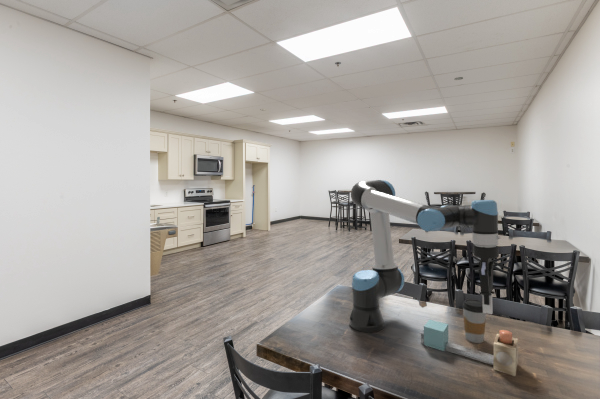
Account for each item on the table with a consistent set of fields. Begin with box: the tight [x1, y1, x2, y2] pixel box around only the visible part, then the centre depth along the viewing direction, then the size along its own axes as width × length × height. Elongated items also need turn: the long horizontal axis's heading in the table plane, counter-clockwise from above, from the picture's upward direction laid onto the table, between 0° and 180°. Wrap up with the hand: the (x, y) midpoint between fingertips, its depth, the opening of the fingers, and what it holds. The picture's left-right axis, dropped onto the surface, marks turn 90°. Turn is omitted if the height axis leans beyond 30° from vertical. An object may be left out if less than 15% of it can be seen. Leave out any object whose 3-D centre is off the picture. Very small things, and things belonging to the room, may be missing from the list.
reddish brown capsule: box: [498, 329, 513, 344], centre depth 101 cm, size 4×4×3 cm
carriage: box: [423, 319, 449, 352], centre depth 116 cm, size 7×7×8 cm
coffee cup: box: [462, 298, 487, 344], centre depth 119 cm, size 8×8×15 cm
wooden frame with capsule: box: [492, 333, 519, 377], centre depth 101 cm, size 6×8×9 cm
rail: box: [420, 329, 494, 366], centre depth 111 cm, size 26×3×4 cm, turn 50°
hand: (487, 312), depth 104 cm, fingers closed
